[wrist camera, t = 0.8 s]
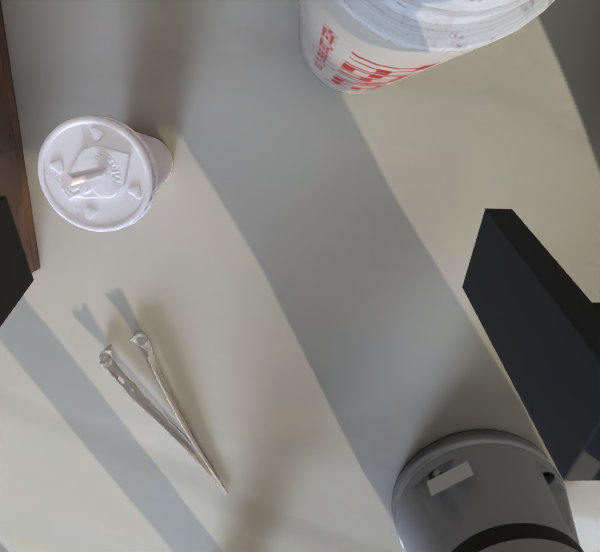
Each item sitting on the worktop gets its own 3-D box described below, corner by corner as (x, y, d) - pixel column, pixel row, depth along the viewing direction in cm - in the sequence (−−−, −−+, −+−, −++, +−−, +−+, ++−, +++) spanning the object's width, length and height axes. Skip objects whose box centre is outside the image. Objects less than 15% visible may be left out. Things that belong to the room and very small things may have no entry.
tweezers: (98, 349, 40) (90, 362, 39) (146, 325, 40) (140, 337, 38) (206, 491, 46) (203, 508, 44) (250, 472, 46) (248, 488, 44)
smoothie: (207, 178, 36) (153, 212, 23) (137, 220, 37) (45, 276, 24) (158, 99, 34) (69, 85, 21) (86, 145, 35) (-44, 160, 22)
